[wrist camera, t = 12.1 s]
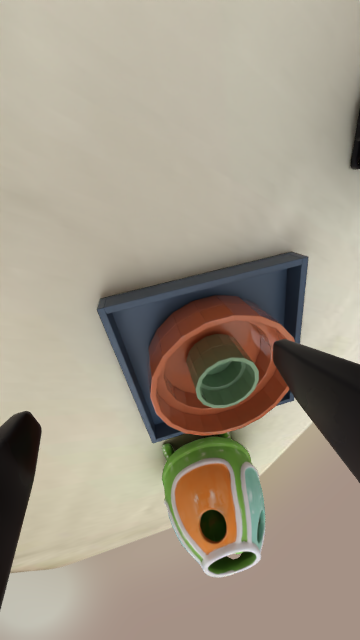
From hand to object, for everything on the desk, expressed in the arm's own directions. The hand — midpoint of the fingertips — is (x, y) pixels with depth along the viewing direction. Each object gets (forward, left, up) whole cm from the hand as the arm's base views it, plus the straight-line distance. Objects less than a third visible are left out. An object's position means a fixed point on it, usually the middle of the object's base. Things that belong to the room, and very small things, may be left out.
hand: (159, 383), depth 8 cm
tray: (-5, +10, -13) cm, 17 cm away
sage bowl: (-5, +10, -12) cm, 17 cm away
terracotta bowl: (-5, +10, -13) cm, 17 cm away
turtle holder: (-2, +29, -13) cm, 32 cm away
